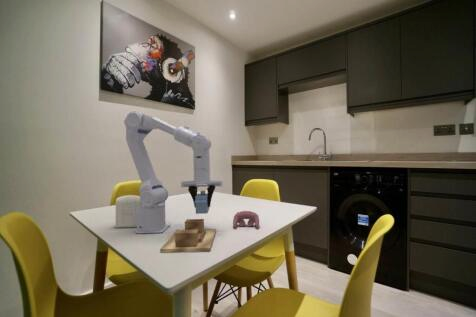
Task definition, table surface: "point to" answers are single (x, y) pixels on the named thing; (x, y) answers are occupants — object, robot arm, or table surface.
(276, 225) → the table surface
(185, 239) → the bread on cutting board
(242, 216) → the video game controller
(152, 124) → the robot arm
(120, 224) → the photo printer
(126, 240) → the table surface
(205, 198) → the servo
